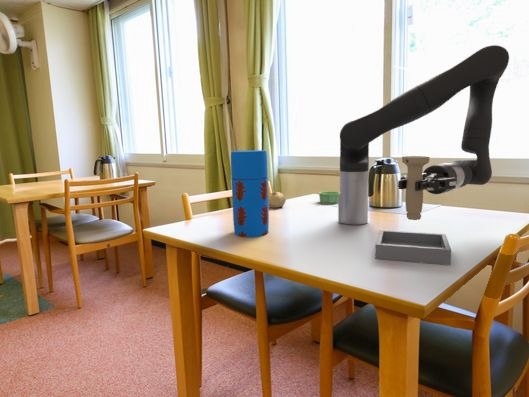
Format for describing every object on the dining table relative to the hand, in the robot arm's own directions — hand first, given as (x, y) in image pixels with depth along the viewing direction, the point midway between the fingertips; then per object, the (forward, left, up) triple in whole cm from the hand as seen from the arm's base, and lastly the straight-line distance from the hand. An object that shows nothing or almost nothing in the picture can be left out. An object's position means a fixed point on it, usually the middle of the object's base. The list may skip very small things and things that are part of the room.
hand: (408, 185), depth 88 cm
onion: (-51, +51, -17) cm, 74 cm away
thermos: (-45, +10, -17) cm, 49 cm away
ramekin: (-32, +67, -17) cm, 77 cm away
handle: (+2, +3, -9) cm, 9 cm away
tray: (+1, +2, -17) cm, 17 cm away
